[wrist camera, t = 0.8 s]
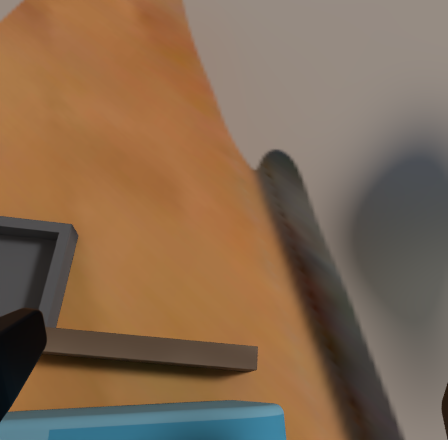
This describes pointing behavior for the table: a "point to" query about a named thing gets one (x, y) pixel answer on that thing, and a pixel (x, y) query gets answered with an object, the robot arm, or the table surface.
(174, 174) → the table surface
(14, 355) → the robot arm
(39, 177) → the table surface
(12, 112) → the table surface
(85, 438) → the blue rounded slab
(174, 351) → the lane rails
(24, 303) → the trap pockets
